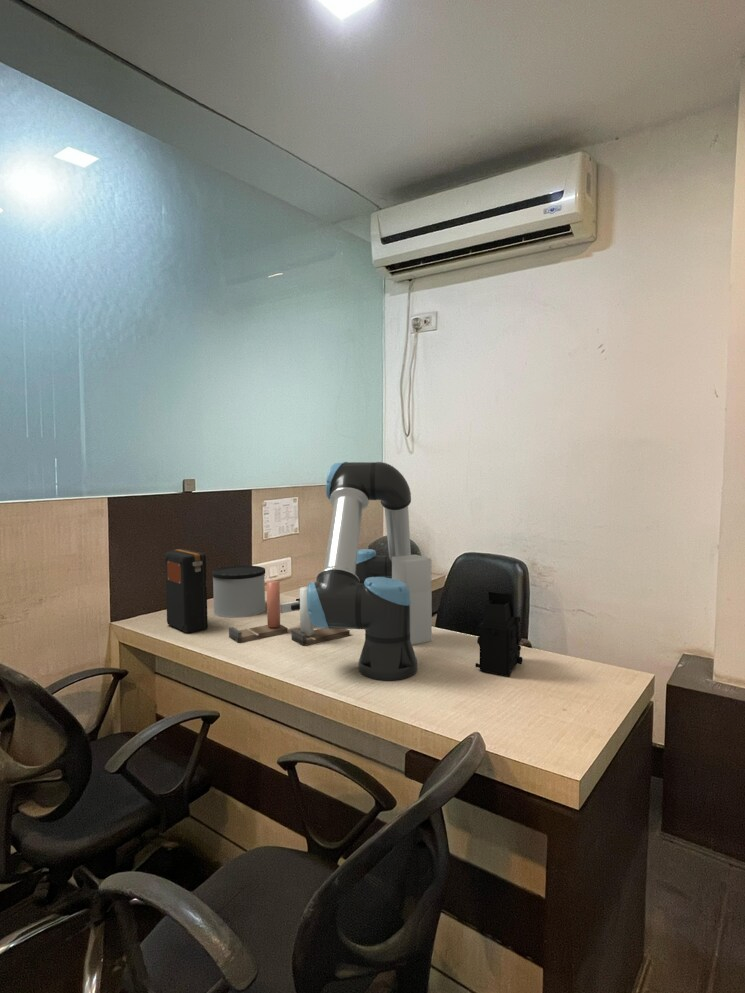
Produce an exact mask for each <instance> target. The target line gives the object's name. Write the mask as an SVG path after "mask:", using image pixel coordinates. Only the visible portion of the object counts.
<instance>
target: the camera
mask: <svg viewBox="0 0 745 993" xmlns="http://www.w3.org/2000/svg"><path fill="white" fill-rule="evenodd" d="M513 596H514V595H513V593H512V592H506V591H499V590H498V591H497V590H491V589H490V590H488V603H487V602H486V603H485V608H484V615H483V616H484V617H483V620H482V621H481V622H480V623H479V630H478V631H476V635H477V636H478V637H477V640H476V641H477V645H478V646H479V662H476V663H475V665H474V666H475V668H479V672H484V673H488V674H489V673H490V674H494V675H500V676H504V677H510V676H511V674H512V671H513V670H514V669H515V667H516V666H517V665H522V664H523V662H524V661H523V660H524V658H523V656H521V649H522V648H521V647H522V646H521V645H520V642H521V641H522V637H520V635H521V634H520V631H521V630H520V629H521V627H520V625H522V624H523V623H522V621H521V617H520V616H518V615H515V607H514V599H513Z"/></svg>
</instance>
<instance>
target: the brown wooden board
mask: <svg viewBox="0 0 745 993" xmlns="http://www.w3.org/2000/svg"><path fill="white" fill-rule="evenodd" d="M350 630H351V629H327V628H318V629H314V634H313V635H311V636H306V635H305V634H303V633H301V632H300V631H299V630H297V629H292V630H291V632H290V633H291V641H293V642H295V643H296V644H298V645H300V646H302V647H304V646H308V645H313V644H317V643H321V642H326V641H330V640H335V639H339V638H344V637H348V636H351V634H350V633H351V632H350Z"/></svg>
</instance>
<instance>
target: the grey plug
mask: <svg viewBox="0 0 745 993" xmlns="http://www.w3.org/2000/svg"><path fill="white" fill-rule="evenodd" d="M307 588H308V586H302V587H299V598H300V611H299V614H300V615H299V618H300V619H299V621H300V623H299V625H300V626H299V627H300V629H299V630H300V631H299V632H301V633H303V634H305V635H306V636H311V635H313V634H314V630H315V626H313V625H312V623H311V621H310V619H309V614H308V607H307Z"/></svg>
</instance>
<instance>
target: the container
mask: <svg viewBox="0 0 745 993" xmlns="http://www.w3.org/2000/svg"><path fill="white" fill-rule="evenodd" d="M265 574H266V568H265V567H262V566H259V565H230V566H223V567H218V568H216V569H213V570H212V571H211V577H212V583H213V584H212V585H213V615H215V616H217V617H220V618H221V617H222V618H233V619H234V618H246V617H252V616H256V615H260V614H263V613H264V612H265V611H266V610H267V607H266V596H265V594H266V592H265V591H266V587H265Z"/></svg>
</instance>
